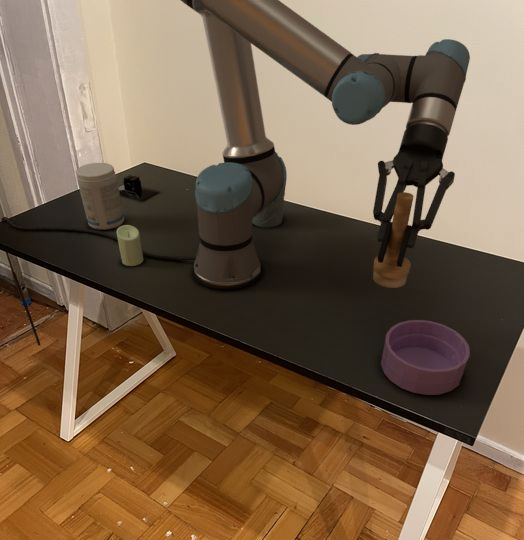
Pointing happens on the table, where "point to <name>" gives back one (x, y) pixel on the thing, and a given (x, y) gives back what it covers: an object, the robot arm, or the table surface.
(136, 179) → the black stepped block
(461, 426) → the table surface
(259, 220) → the grey green cup
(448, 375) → the lilac bowl
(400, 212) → the dish brush
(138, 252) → the candle
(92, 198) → the supplement tub
